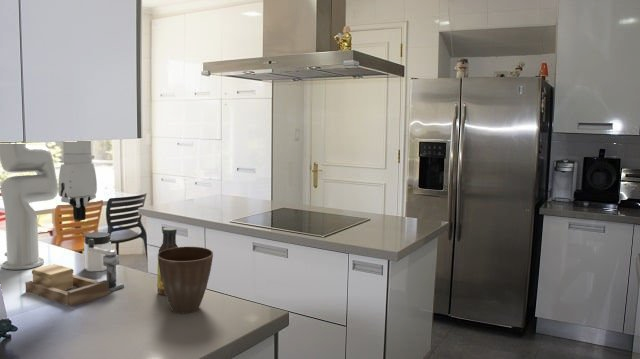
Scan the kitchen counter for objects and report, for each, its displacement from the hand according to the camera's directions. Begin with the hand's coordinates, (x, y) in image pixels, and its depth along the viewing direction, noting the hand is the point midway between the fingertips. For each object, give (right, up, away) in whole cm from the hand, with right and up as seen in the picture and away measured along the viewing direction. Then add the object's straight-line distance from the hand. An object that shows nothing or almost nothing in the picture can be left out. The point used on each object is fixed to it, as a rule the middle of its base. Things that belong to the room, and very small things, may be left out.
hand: (79, 219), depth 149 cm
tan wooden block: (-9, -21, +2) cm, 23 cm away
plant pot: (+35, -24, -11) cm, 44 cm away
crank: (+5, -11, +5) cm, 13 cm away
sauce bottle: (+26, -23, +2) cm, 35 cm away
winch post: (+8, -22, +4) cm, 23 cm away
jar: (-5, -19, +24) cm, 31 cm away
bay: (-4, -22, -1) cm, 22 cm away
